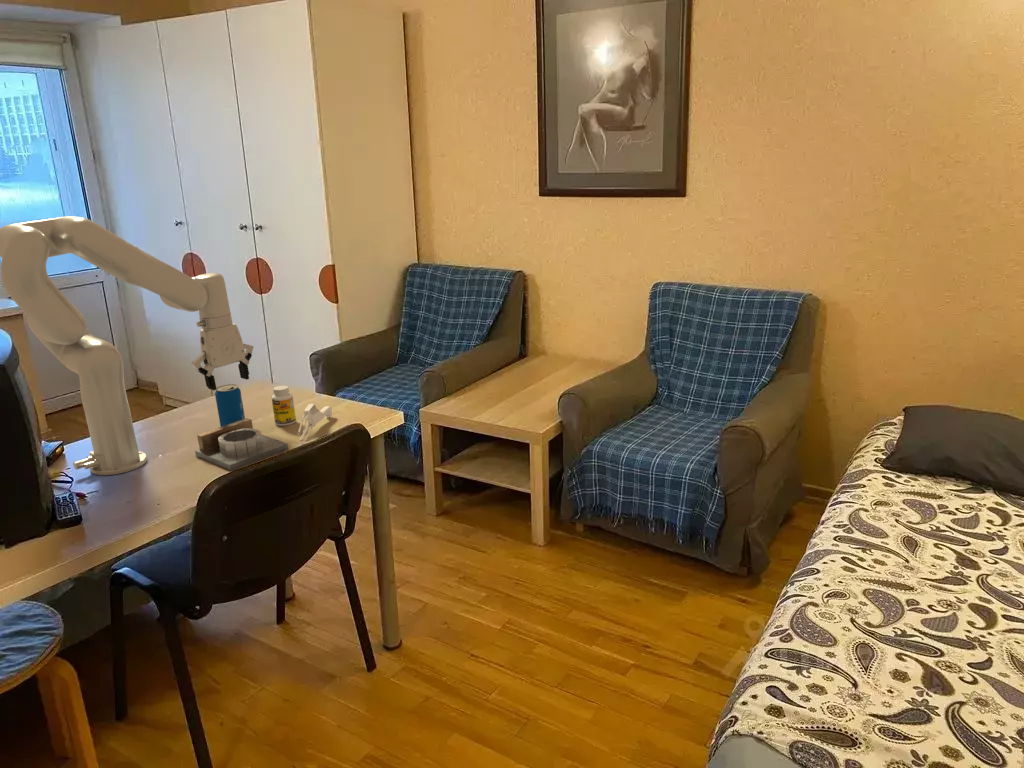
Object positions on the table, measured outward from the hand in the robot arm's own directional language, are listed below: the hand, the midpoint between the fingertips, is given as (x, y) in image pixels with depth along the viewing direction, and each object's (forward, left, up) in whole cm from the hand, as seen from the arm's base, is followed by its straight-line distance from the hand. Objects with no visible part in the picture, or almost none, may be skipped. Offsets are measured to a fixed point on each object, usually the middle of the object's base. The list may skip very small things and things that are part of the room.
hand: (229, 383), depth 206 cm
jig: (-9, -17, -13) cm, 23 cm away
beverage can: (-1, 0, -13) cm, 13 cm away
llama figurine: (+12, -19, -13) cm, 26 cm away
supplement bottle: (+10, -8, -13) cm, 18 cm away
